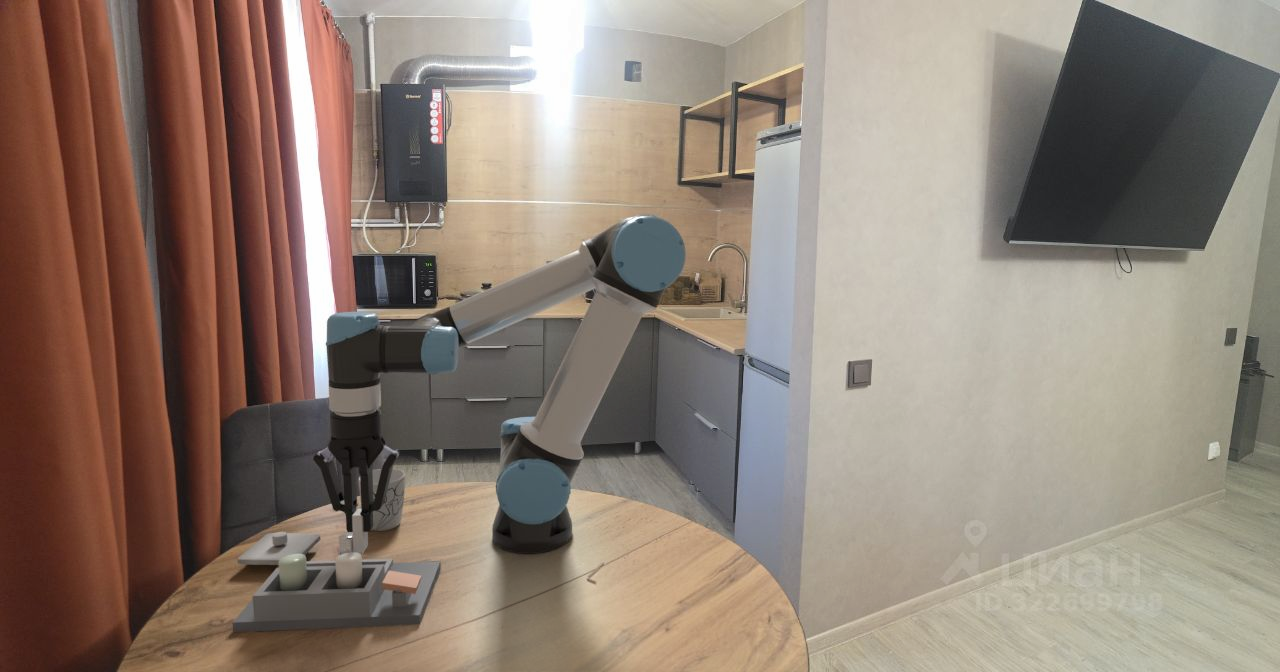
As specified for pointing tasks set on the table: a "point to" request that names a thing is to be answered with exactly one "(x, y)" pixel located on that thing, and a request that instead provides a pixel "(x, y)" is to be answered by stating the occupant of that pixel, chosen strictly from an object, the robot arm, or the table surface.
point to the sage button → (292, 572)
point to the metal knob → (346, 543)
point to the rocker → (401, 582)
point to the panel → (339, 599)
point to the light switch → (278, 548)
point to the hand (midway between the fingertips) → (360, 549)
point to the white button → (349, 570)
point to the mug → (388, 501)
